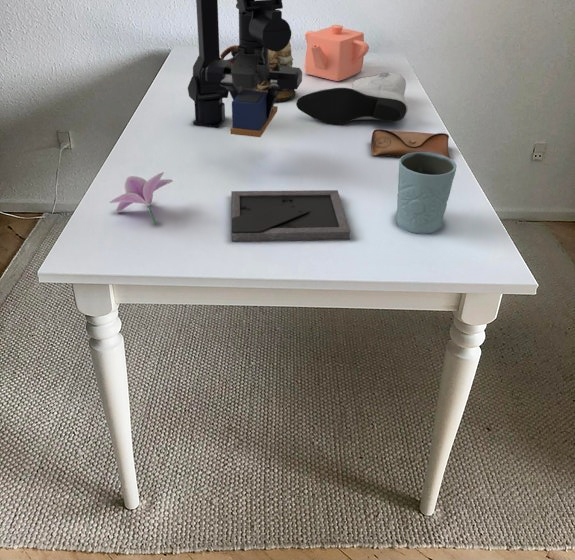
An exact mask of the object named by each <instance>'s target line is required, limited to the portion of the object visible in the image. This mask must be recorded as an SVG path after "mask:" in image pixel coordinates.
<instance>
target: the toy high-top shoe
mask: <svg viewBox="0 0 575 560" xmlns="http://www.w3.org/2000/svg"><path fill="white" fill-rule="evenodd" d="M267 102H268V92H259V91H249V90H242V91H241V92H240V93H239V94H238V95H237V97H236V98H235V99H234V100H233V99H232V101H231V122H232V123H231V125H232V126H231V127H230V128H229V131H230V133H229V134H230V135H237V136H243V137H244V136H245V137H253V138H262V135H263V134H264V132H265V131H266V129H267V128H268V126H269V125H270V123H271V122H272V120H273V119H274V117H275V116H276V114H277V112H278V106H277V105H274V106H273V109H272V111H271V114H270V117H269V118H267V112H266V111H267Z"/></svg>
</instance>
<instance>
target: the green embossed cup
mask: <svg viewBox="0 0 575 560" xmlns="http://www.w3.org/2000/svg"><path fill="white" fill-rule="evenodd" d="M450 158H451V157H450ZM450 158H448V157H446V156H443V155H440V154H436V153H429V152H414V153H409V154H406V155H404V156H402V157H400V158H399V161H398V175H397V176H398V184H397V198H396V199H397V202H396V212H395V222H396V225H398V226H399V227H400V228H401V229H403V230H405V231H407V232H410V233H414V234H422V235H423V234H425V235H426V234H432V233H436V232H438V231H439V230H440V229H441V227H442V225H443V221H444V216H445V213H446V210H447V205H448V201H449V198H450V194H451V190H452V187H453V182H454V179H455V176H456V171H457V163H456V162H455V161H454V160H453V159H452V158H451V159H450Z"/></svg>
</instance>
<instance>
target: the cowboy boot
mask: <svg viewBox="0 0 575 560" xmlns="http://www.w3.org/2000/svg"><path fill="white" fill-rule="evenodd" d="M406 88H407V80H406V78H405V76H403V75H402V74H399V73H389V72H381V73H380V74H378V75H372V76H367V77H361V78H357V79H356V80H354V81H353V83H352V87H343V86H342V87H332V88H324V89H318V90H314V91H311V92H309V93H306V94H303V95H301V96H300V97H298V99H297V100H296V102H295V105H296V108H297V109H298V110H299V111H301V113H304V114H305V115H307V116H308V117H311V118H313V119H315V120H316V121H319V122H321V123H325V124H328V125H333V126H340V125H345V124H347V123H350V122H352V121H358V120H359V121H363V120H364V121H365V120H366V121H367V120H374V121H375V120H376V121H381V122H390V123H392V122H394V123H395V122H399V121H401V120H403V119H404V118H405V117H406V114H407V113H408V110H409V109H408V102H407V101H406V98H405V92H406Z"/></svg>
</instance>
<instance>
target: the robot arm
mask: <svg viewBox="0 0 575 560" xmlns="http://www.w3.org/2000/svg"><path fill="white" fill-rule="evenodd" d="M282 1H283V0H236V2H237V3H236V4H235V8H236V9H237V10H238V54H237V57H236V60H235V62H234V64H233V67H232V63H231V61H222V60H221V56H220V55H221V54H220V31H219V30H220V28H219V4H218V3H219V2H218V0H195V4H196V6H195V7H196V19H197V20H196V21H197V22H196V23H197V42H198V55H197V58H196V60H195V62H194V64H193V66H192V76H191V78H190V81H189V83H188V86H187V93H188V97H189V98H190V99H191V101H193V102H194V118H195V120H194V121H193V122H192V125H195V126H204V127H212V128H213V127H214V128H219V127H220V126H221V124H222V123H223V122H224V121H225V120H226V103H225V102H223V99H228V98H229V94H230V96H231V98H232V101H233V100H234V99H235V98H236V97H237V95H238V94H239V93H240V92H241V91H242V87H248V88H255V87H257V85H258V81H259V82H261V81H267V80H268V81H271V85H270V87H269V88H268V102H267V111H266V112H267V118H269V117H270V114H271V111H272V109H273V106H275V104H276V102H275V100H276V98H277V95H278V93H279V92H283V90H284V89H291V90H295V91H296V90H298V88H299V87H300V85H301V83H303V71H302V69H301V68H300V67H296V66H295V67H294V66H292V67H285V66H283V67H282V68H281V70H280V71H270V70H269V62H268V50H271V51H275V52H276V51H280V50H282V49H284V48H285V47H286V46H287V45H288V43H289V42H290V43H291V39H292V30H291V25H290V24H289V22H288V21H287V20H285V19H284V18H283V11H282V10H283V9H284V4H283V2H282Z"/></svg>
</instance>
